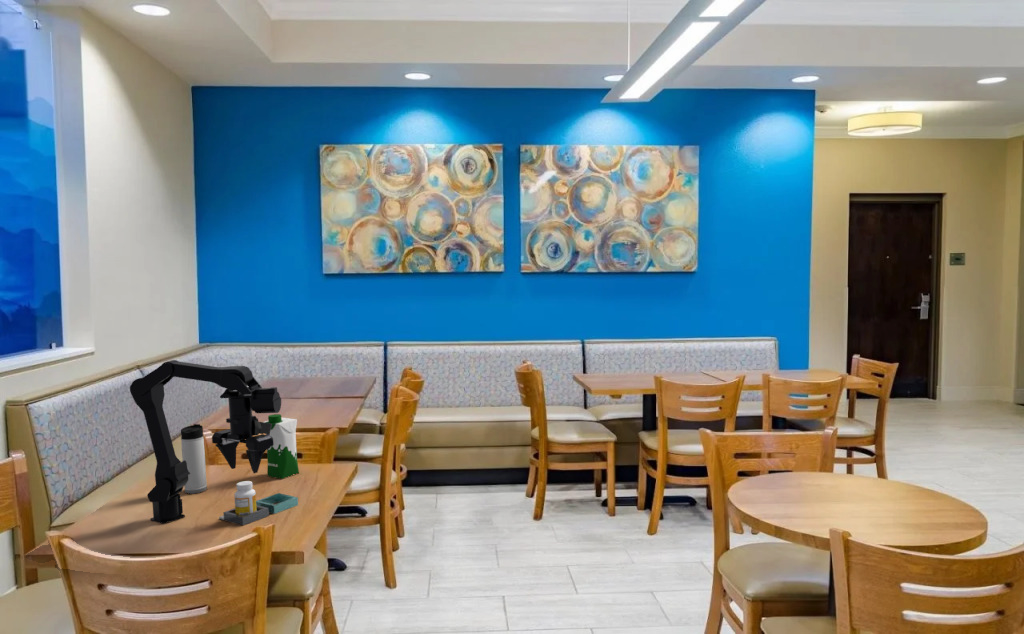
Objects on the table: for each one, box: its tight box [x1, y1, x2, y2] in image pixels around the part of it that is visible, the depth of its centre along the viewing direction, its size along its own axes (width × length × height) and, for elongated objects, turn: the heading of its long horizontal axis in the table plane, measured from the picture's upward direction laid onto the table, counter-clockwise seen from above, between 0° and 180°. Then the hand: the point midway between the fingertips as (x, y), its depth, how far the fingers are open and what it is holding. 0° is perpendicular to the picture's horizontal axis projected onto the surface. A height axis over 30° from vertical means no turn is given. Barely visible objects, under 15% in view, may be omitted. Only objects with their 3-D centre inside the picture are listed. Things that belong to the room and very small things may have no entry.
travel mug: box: [180, 423, 208, 495], centre depth 221 cm, size 6×7×20 cm
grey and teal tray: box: [218, 492, 299, 526], centre depth 201 cm, size 18×10×2 cm, turn 147°
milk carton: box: [263, 413, 300, 480], centre depth 235 cm, size 9×9×20 cm
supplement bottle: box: [234, 480, 257, 516], centre depth 196 cm, size 5×5×10 cm
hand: (244, 470), depth 196 cm, fingers open, 9 cm apart
